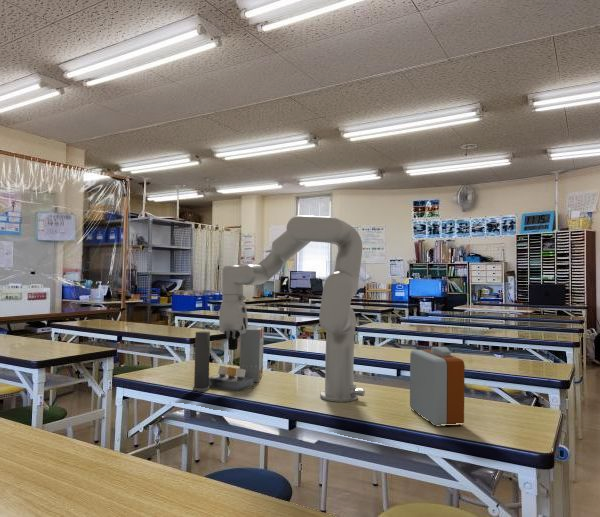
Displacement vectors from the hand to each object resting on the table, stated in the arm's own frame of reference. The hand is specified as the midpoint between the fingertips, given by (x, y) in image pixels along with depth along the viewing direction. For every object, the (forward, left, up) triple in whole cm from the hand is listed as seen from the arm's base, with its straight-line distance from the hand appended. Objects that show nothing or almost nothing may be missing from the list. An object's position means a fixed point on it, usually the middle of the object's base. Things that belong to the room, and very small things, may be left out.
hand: (233, 349), depth 170 cm
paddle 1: (-3, 0, -10) cm, 11 cm away
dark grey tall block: (+7, +9, -13) cm, 18 cm away
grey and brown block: (-72, -2, -14) cm, 74 cm away
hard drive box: (+2, -15, -14) cm, 20 cm away
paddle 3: (+5, 0, -10) cm, 11 cm away
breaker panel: (+1, 0, -13) cm, 13 cm away
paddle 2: (+1, 0, -10) cm, 10 cm away
